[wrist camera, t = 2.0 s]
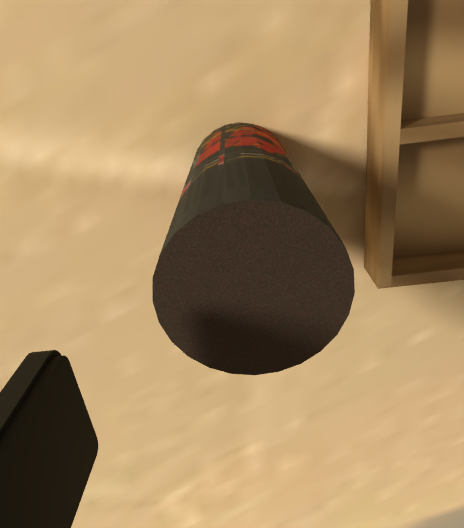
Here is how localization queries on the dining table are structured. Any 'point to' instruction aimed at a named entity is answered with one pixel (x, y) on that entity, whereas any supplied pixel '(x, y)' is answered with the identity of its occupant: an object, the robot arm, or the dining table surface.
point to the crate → (415, 143)
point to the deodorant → (250, 260)
